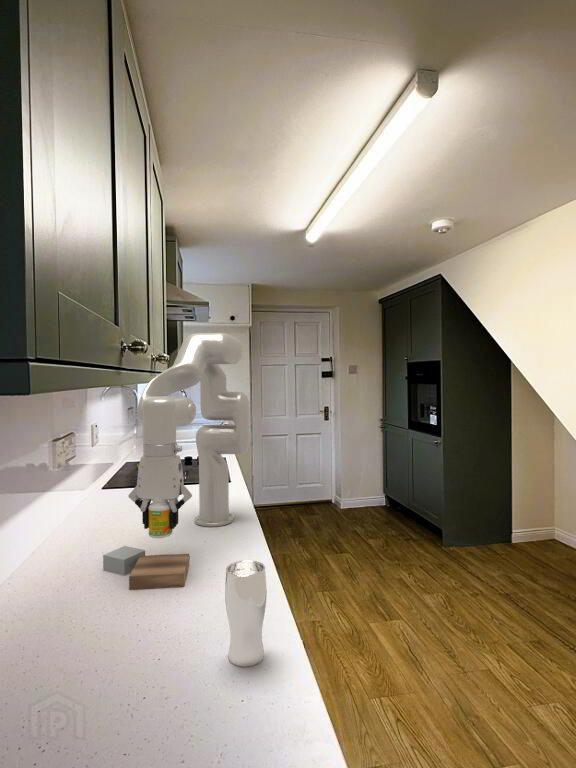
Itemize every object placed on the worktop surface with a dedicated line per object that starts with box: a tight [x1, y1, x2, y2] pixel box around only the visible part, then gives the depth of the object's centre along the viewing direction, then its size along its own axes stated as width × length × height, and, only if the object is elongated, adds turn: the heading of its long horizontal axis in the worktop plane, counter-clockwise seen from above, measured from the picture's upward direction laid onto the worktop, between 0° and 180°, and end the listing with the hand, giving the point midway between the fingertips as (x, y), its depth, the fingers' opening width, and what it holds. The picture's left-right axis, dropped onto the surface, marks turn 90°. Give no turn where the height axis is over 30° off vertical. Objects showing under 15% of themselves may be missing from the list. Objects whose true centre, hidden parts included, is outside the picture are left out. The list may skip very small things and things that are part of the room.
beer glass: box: [224, 559, 267, 668], centre depth 79 cm, size 7×7×15 cm
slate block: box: [102, 545, 146, 576], centre depth 116 cm, size 7×7×4 cm
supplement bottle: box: [148, 499, 173, 539], centre depth 110 cm, size 5×5×10 cm
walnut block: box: [128, 553, 191, 591], centre depth 110 cm, size 12×12×3 cm
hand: (160, 526), depth 110 cm, fingers closed on supplement bottle, 5 cm apart
